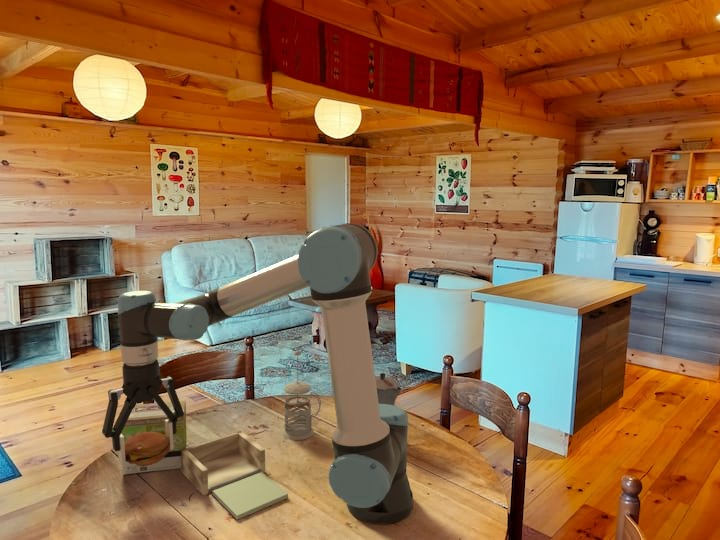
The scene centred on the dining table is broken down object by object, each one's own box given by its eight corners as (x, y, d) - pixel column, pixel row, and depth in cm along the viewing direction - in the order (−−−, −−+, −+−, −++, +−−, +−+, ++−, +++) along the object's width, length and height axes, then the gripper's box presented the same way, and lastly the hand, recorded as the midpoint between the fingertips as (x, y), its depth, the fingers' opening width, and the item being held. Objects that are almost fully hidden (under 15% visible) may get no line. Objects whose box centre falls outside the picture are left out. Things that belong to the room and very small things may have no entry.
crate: (265, 471, 131) (264, 449, 130) (203, 495, 120) (202, 471, 119) (240, 451, 140) (240, 430, 140) (181, 471, 130) (180, 449, 129)
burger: (168, 443, 123) (167, 424, 123) (171, 461, 115) (169, 442, 114) (123, 451, 120) (121, 432, 119) (122, 471, 111) (120, 451, 110)
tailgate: (288, 497, 120) (287, 492, 119) (236, 519, 111) (236, 513, 111) (259, 473, 130) (259, 468, 129) (210, 492, 121) (210, 486, 121)
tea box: (122, 477, 127) (118, 420, 125) (128, 457, 137) (125, 404, 135) (186, 468, 131) (184, 414, 129) (187, 450, 141) (185, 398, 139)
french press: (284, 424, 158) (283, 345, 154) (322, 425, 157) (322, 346, 153) (278, 439, 148) (277, 355, 144) (318, 440, 147) (318, 356, 144)
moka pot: (392, 452, 141) (394, 383, 138) (345, 437, 149) (346, 371, 146) (408, 438, 149) (410, 372, 146) (362, 425, 157) (363, 362, 154)
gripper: (89, 376, 104) (97, 479, 107) (196, 354, 119) (200, 445, 122) (80, 367, 110) (88, 465, 113) (183, 347, 124) (188, 434, 127)
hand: (146, 455), depth 117 cm, fingers closed on burger, 10 cm apart
